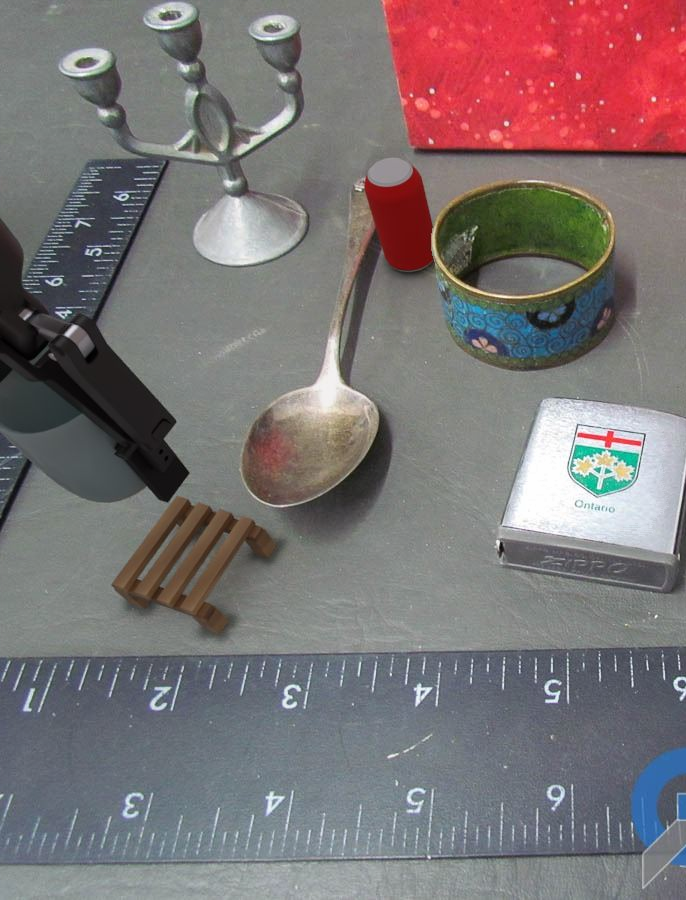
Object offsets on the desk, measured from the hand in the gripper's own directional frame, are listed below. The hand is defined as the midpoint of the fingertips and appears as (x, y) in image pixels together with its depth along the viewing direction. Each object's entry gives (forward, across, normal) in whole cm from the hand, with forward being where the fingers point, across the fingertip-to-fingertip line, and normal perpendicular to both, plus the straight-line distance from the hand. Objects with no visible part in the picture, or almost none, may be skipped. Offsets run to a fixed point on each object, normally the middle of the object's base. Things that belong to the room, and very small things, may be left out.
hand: (125, 471), depth 61 cm
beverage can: (+15, 0, +42) cm, 44 cm away
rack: (+15, 0, -1) cm, 15 cm away
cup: (0, 0, 0) cm, 0 cm away
